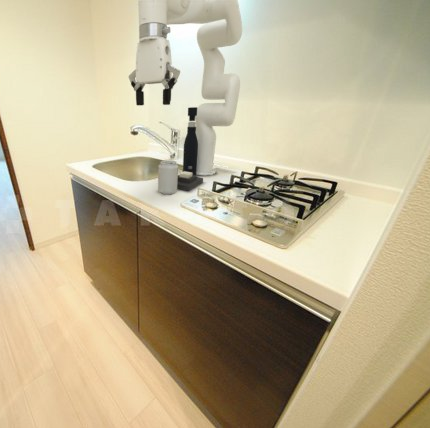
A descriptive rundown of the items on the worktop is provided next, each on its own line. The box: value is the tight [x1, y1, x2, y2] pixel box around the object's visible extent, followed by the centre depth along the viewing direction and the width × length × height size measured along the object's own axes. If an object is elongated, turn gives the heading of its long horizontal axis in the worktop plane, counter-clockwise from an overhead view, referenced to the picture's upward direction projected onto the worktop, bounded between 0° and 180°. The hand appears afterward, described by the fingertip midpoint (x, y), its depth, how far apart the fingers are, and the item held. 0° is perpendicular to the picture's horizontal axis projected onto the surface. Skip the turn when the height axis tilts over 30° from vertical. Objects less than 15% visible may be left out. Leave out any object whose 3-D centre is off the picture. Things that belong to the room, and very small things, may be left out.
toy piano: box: [177, 174, 204, 193], centre depth 97 cm, size 14×10×4 cm
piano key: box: [179, 171, 193, 178], centre depth 96 cm, size 4×4×2 cm
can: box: [157, 159, 179, 195], centre depth 88 cm, size 8×8×12 cm
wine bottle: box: [182, 106, 198, 175], centre depth 104 cm, size 6×6×30 cm
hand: (152, 105), depth 70 cm, fingers open, 9 cm apart
